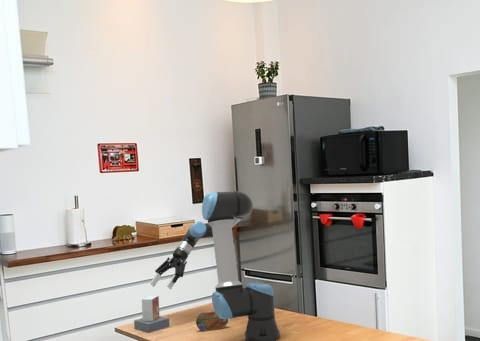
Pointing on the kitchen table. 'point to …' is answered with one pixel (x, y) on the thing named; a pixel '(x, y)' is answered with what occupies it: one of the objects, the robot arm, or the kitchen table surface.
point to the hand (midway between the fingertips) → (160, 286)
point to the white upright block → (150, 308)
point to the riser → (151, 324)
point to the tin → (210, 321)
